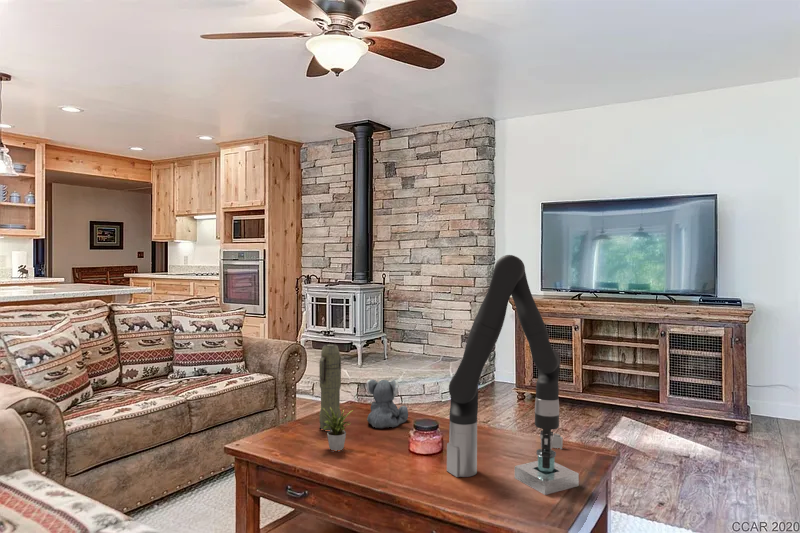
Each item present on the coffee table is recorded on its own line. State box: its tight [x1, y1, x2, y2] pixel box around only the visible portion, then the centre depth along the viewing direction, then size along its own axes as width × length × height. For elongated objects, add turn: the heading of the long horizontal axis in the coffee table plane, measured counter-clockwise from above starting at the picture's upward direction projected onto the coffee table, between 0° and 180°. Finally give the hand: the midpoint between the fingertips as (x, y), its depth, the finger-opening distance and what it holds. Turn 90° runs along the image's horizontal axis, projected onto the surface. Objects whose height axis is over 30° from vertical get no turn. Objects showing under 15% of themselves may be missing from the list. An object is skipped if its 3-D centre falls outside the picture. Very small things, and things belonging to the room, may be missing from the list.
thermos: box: [319, 343, 342, 430], centre depth 225 cm, size 9×12×35 cm
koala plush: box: [365, 379, 409, 429], centre depth 231 cm, size 17×18×20 cm
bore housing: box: [514, 460, 580, 496], centre depth 172 cm, size 14×14×4 cm
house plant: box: [319, 407, 354, 451], centre depth 200 cm, size 14×14×16 cm
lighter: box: [552, 432, 564, 450], centre depth 204 cm, size 7×2×8 cm, turn 59°
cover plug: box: [536, 448, 557, 475], centre depth 172 cm, size 6×6×9 cm
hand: (546, 463), depth 172 cm, fingers closed on cover plug, 6 cm apart
